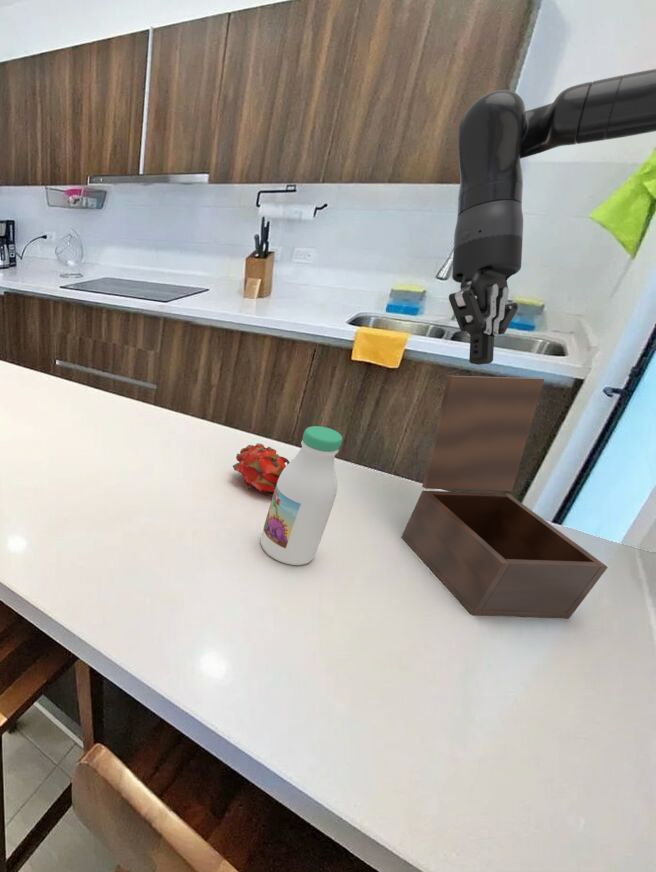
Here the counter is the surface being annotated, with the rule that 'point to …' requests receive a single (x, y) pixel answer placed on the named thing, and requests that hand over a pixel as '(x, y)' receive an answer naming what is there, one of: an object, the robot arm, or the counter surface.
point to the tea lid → (481, 432)
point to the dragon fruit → (260, 467)
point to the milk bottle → (303, 499)
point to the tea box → (500, 555)
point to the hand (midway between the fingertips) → (481, 363)
